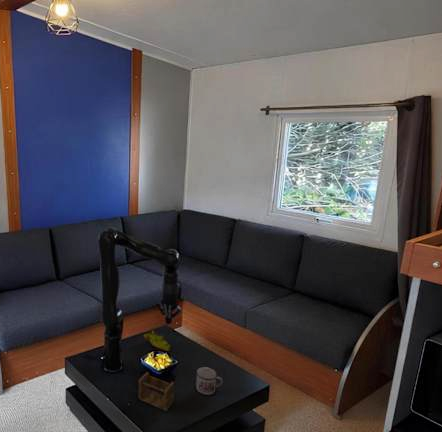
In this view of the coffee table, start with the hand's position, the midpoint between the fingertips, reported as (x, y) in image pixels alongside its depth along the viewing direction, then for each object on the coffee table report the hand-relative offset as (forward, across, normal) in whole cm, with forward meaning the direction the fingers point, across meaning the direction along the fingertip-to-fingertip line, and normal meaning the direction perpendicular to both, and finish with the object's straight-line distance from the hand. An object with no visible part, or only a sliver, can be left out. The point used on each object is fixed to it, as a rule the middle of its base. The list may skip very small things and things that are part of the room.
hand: (168, 323), depth 196 cm
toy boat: (+29, -16, +22) cm, 40 cm away
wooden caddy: (+29, +4, -20) cm, 35 cm away
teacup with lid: (+29, +21, +2) cm, 36 cm away
